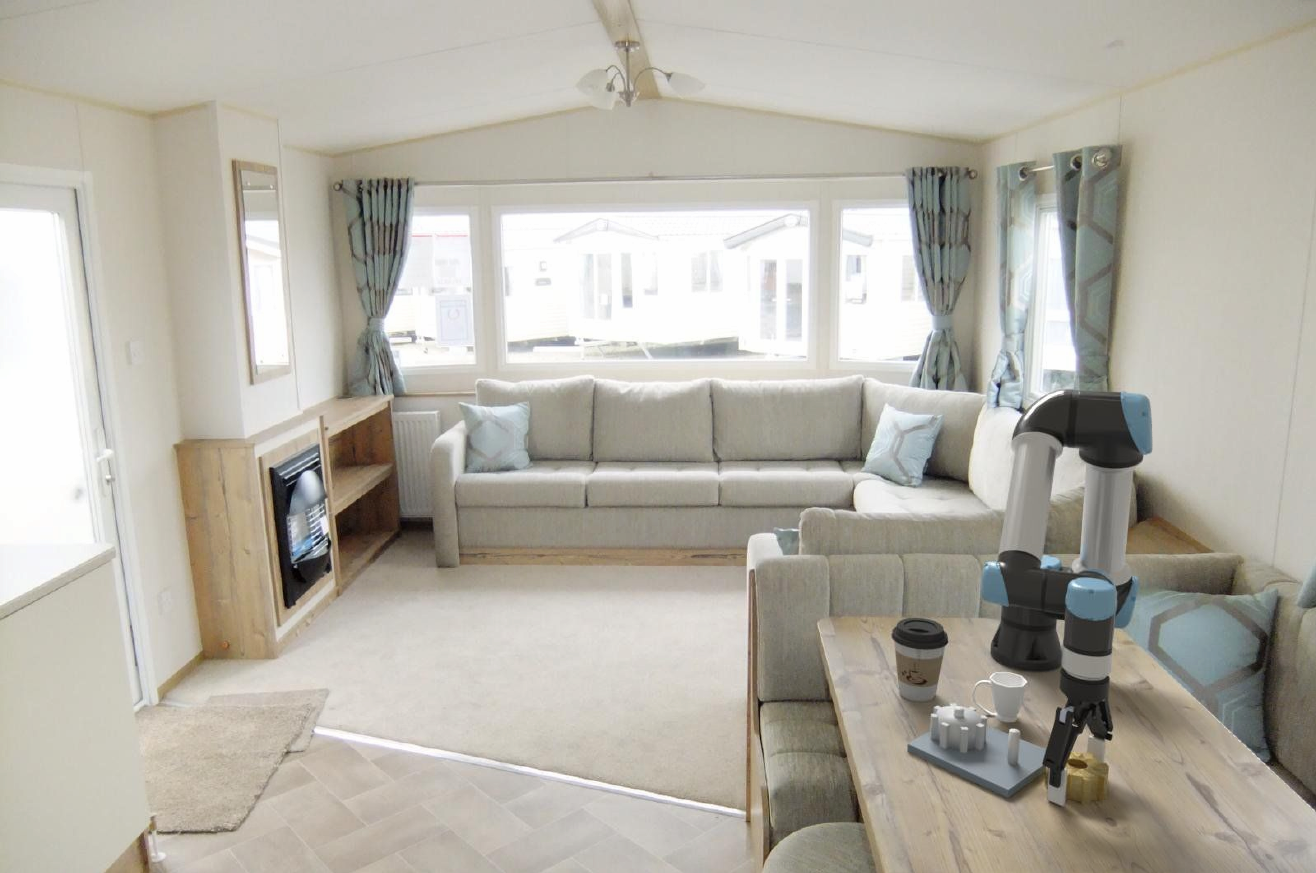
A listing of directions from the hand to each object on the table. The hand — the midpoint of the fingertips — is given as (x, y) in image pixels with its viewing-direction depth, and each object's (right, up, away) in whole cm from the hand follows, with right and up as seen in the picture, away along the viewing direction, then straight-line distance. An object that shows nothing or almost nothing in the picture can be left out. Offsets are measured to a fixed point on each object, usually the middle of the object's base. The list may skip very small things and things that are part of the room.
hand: (1075, 786), depth 160 cm
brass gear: (0, 0, 0) cm, 0 cm away
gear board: (-13, +2, +10) cm, 16 cm away
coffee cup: (-18, +6, +34) cm, 39 cm away
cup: (-4, +5, +25) cm, 26 cm away
